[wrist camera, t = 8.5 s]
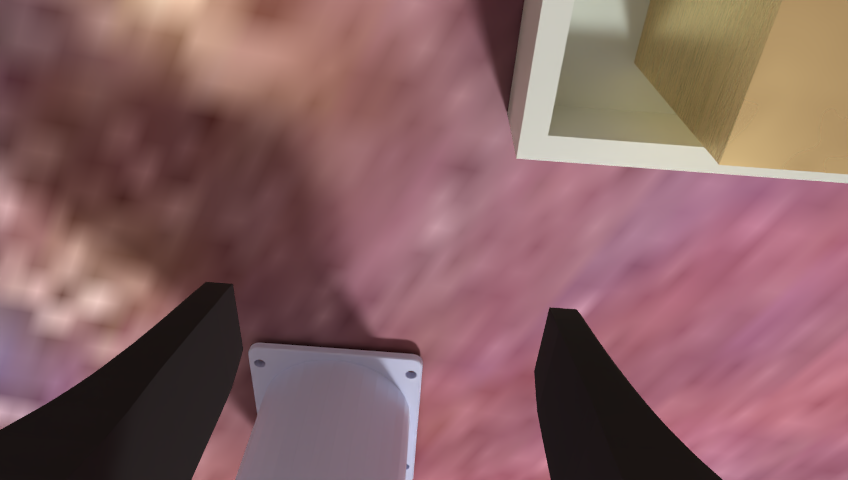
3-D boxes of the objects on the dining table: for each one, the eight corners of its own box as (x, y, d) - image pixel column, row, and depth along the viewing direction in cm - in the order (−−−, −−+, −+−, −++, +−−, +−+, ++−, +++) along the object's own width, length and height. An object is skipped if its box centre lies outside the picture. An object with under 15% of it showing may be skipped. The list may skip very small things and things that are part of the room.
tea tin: (778, 73, 18) (931, 180, 12) (633, 62, 18) (718, 164, 12) (846, -93, 16) (1079, -57, 10) (678, -105, 16) (811, -77, 10)
